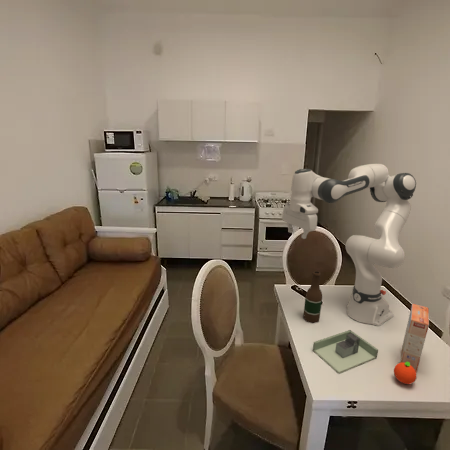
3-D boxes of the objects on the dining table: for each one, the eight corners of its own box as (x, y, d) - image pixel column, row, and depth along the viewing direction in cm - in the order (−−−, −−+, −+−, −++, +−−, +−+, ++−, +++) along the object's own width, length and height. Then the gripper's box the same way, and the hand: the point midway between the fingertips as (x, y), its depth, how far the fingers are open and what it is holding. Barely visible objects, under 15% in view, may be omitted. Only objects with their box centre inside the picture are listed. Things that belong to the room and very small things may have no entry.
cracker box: (417, 374, 114) (429, 324, 109) (399, 367, 117) (409, 319, 112) (418, 352, 126) (429, 307, 120) (401, 347, 129) (411, 302, 123)
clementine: (395, 369, 116) (398, 353, 114) (416, 378, 112) (420, 362, 110) (390, 381, 110) (393, 365, 108) (412, 392, 106) (416, 374, 104)
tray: (348, 337, 134) (350, 329, 133) (376, 358, 122) (378, 349, 121) (312, 350, 125) (313, 342, 124) (338, 373, 113) (340, 364, 112)
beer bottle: (308, 312, 153) (313, 267, 146) (322, 319, 147) (329, 272, 141) (299, 318, 147) (304, 271, 141) (314, 325, 142) (320, 277, 135)
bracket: (342, 358, 120) (345, 343, 119) (335, 351, 124) (337, 337, 122) (357, 352, 124) (360, 338, 122) (349, 346, 127) (352, 332, 125)
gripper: (280, 201, 147) (278, 229, 150) (309, 211, 129) (306, 242, 133) (291, 200, 149) (288, 228, 153) (321, 210, 132) (317, 241, 136)
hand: (296, 235), depth 143 cm, fingers open, 8 cm apart
